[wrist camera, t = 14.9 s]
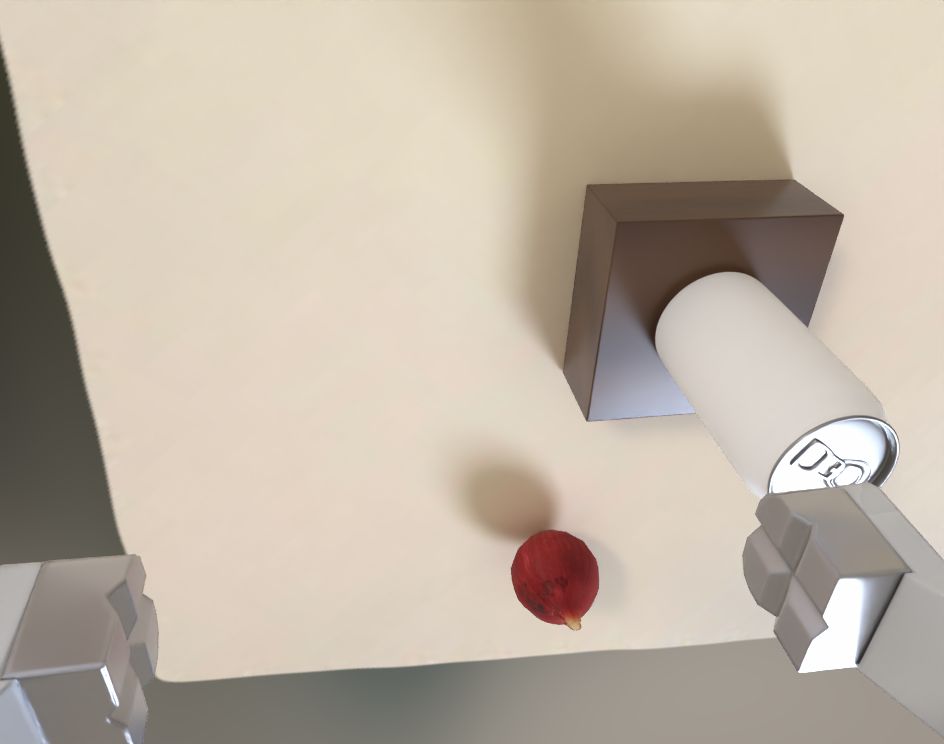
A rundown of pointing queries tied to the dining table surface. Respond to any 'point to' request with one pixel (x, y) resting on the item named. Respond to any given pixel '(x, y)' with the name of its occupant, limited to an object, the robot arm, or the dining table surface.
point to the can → (772, 389)
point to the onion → (555, 577)
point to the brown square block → (679, 275)
